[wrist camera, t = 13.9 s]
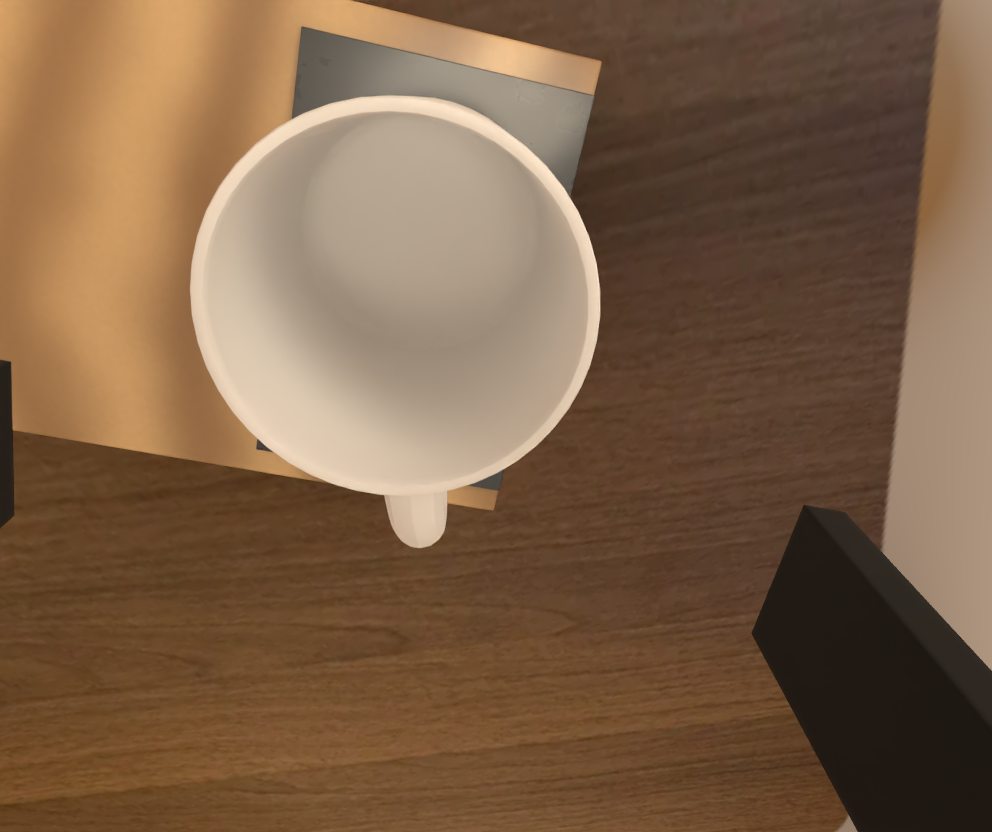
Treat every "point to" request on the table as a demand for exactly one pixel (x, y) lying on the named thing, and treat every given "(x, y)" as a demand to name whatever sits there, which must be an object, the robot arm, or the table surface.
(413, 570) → the table surface
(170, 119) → the shelf
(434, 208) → the mug
